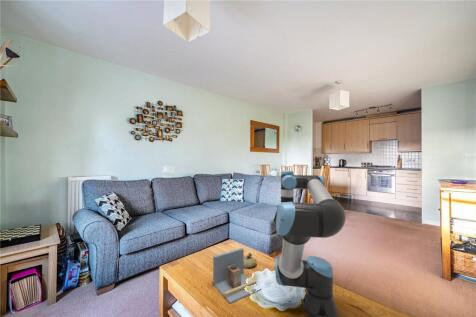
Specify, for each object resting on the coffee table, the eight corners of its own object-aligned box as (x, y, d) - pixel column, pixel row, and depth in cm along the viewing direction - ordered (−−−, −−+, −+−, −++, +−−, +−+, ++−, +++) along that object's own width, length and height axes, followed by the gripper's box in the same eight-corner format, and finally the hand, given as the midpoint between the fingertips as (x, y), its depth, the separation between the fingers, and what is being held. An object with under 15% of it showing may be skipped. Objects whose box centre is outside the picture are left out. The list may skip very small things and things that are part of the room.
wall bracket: (261, 289, 108) (261, 260, 108) (229, 304, 97) (230, 271, 97) (240, 272, 125) (240, 247, 125) (212, 283, 114) (212, 255, 114)
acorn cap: (254, 271, 127) (259, 256, 133) (238, 263, 129) (244, 249, 135) (252, 274, 134) (256, 259, 141) (237, 267, 137) (243, 253, 143)
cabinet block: (240, 286, 110) (241, 268, 110) (233, 289, 107) (233, 270, 107) (234, 279, 116) (234, 262, 116) (226, 282, 113) (226, 265, 113)
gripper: (296, 193, 128) (296, 226, 128) (267, 197, 114) (267, 233, 114) (305, 195, 122) (305, 229, 121) (276, 199, 108) (276, 237, 108)
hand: (287, 231), depth 118 cm, fingers open, 13 cm apart
